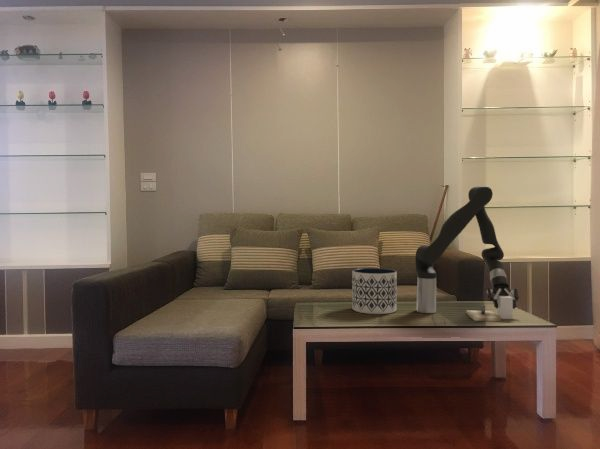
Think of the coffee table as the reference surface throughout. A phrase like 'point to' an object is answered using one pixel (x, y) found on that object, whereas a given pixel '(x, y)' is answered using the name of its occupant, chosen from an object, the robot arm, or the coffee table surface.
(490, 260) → the robot arm
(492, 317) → the stub plate
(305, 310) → the coffee table surface
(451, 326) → the coffee table surface
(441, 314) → the coffee table surface
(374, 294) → the planter
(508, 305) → the block
